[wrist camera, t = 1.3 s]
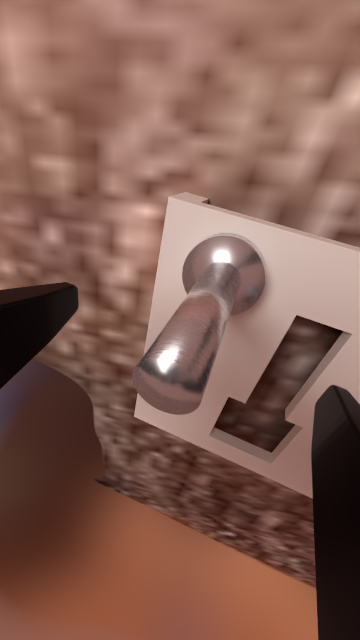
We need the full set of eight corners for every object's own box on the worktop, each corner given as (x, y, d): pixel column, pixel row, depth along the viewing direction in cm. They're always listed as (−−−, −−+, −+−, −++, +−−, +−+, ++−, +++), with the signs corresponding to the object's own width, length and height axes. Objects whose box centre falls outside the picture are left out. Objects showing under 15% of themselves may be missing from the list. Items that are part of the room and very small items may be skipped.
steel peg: (280, 246, 12) (282, 361, 5) (248, 317, 15) (220, 462, 8) (197, 222, 13) (94, 292, 6) (180, 294, 16) (94, 405, 8)
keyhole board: (573, 301, 12) (642, 333, 10) (338, 479, 23) (343, 513, 21) (185, 192, 15) (168, 196, 13) (146, 395, 27) (134, 416, 24)
